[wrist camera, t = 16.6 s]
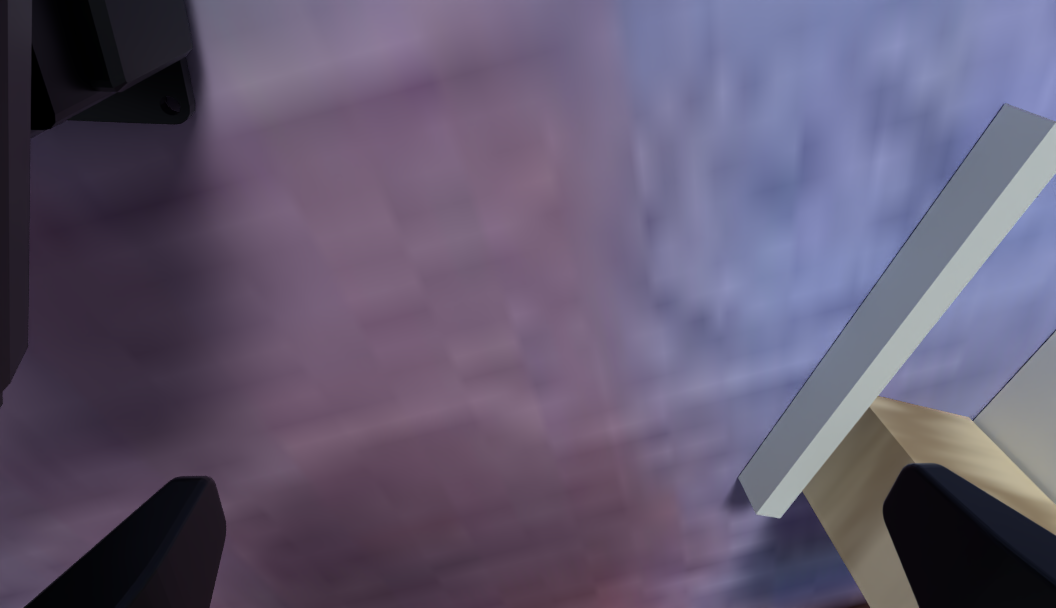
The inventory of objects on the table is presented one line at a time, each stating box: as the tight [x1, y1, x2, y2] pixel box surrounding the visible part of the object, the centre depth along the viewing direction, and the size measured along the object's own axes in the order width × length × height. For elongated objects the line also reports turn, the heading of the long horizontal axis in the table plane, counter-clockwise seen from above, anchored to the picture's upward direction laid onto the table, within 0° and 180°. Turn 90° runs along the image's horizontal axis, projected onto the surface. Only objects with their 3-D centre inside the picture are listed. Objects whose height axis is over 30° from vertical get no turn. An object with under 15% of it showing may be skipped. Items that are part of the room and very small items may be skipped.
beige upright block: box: [802, 396, 1056, 608], centre depth 23 cm, size 6×5×11 cm
